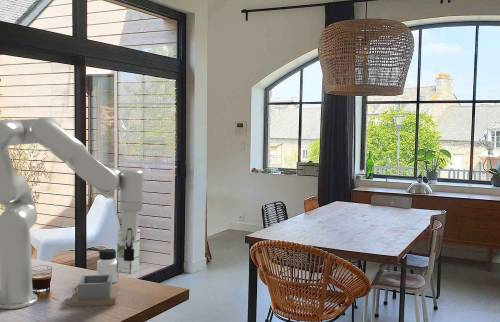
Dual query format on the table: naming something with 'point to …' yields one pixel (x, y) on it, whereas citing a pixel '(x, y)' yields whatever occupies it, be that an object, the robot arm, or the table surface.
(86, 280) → the socket
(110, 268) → the medicine bottle
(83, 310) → the table surface
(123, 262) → the syrup box
